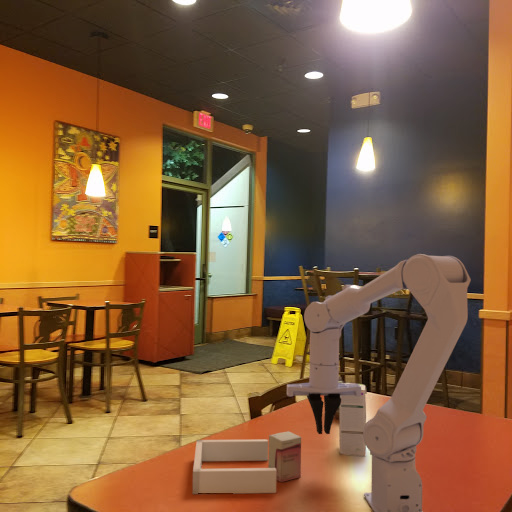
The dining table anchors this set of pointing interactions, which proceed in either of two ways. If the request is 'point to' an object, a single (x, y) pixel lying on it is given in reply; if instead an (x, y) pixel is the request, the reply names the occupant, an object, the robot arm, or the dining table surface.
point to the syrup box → (352, 423)
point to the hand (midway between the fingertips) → (323, 432)
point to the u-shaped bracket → (232, 477)
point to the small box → (285, 455)
